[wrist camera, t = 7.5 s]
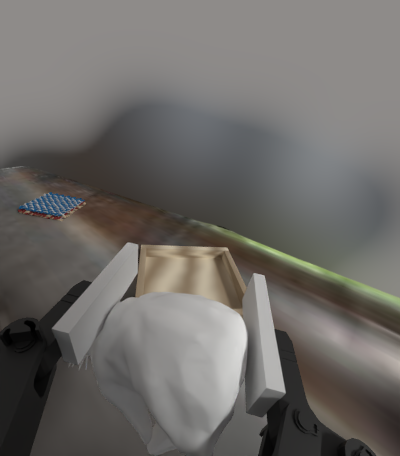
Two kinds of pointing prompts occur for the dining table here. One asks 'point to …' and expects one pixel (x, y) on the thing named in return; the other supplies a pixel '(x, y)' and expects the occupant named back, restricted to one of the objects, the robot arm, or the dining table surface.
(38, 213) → the woven mat
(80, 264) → the dining table surface
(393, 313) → the dining table surface
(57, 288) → the dining table surface
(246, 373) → the robot arm
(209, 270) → the birch tray
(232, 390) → the white rounded lump
